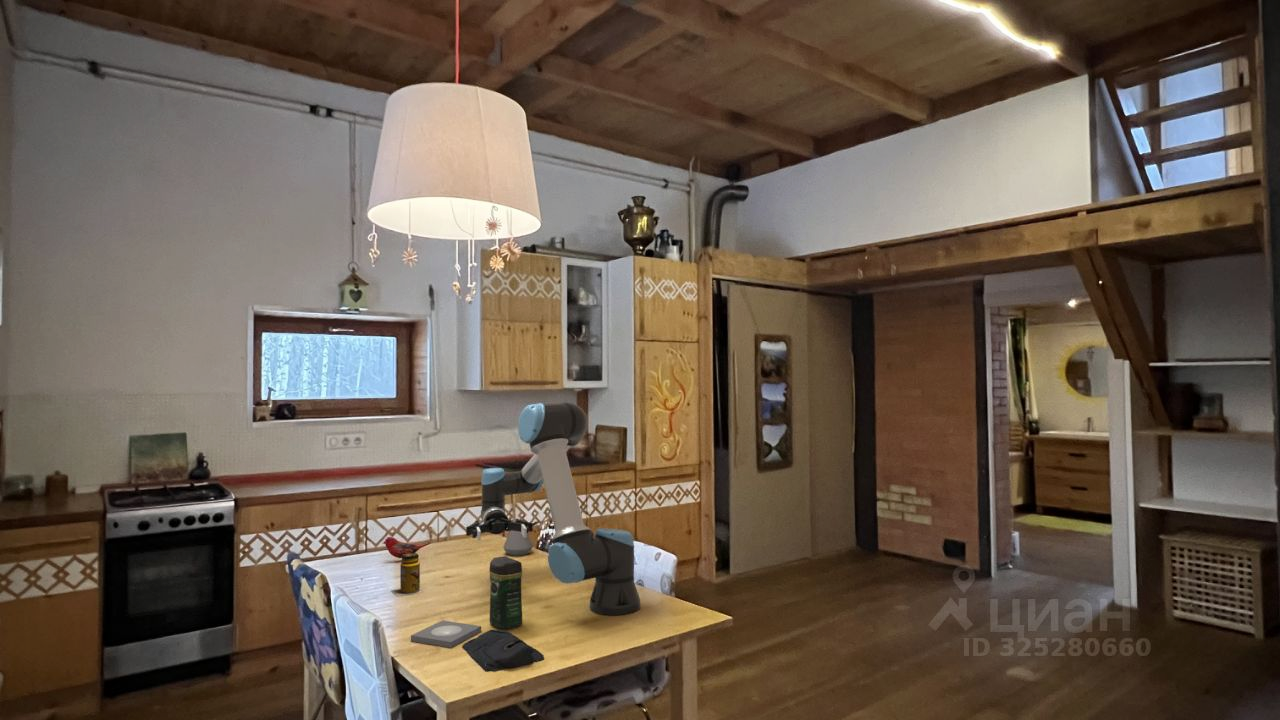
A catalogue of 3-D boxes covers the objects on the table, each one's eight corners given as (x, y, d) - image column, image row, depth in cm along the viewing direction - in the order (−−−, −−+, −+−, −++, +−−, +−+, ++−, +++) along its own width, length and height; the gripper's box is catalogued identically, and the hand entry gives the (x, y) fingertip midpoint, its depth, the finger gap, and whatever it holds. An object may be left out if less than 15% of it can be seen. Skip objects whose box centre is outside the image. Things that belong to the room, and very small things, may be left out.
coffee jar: (526, 626, 204) (526, 559, 204) (500, 632, 199) (500, 563, 200) (510, 617, 212) (510, 552, 212) (485, 623, 207) (485, 556, 207)
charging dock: (481, 631, 200) (481, 626, 200) (451, 647, 188) (451, 641, 188) (442, 625, 205) (442, 620, 205) (410, 641, 193) (410, 635, 193)
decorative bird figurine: (382, 563, 275) (382, 536, 275) (430, 558, 282) (430, 532, 283) (382, 565, 272) (382, 538, 273) (431, 559, 280) (431, 533, 280)
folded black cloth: (513, 636, 197) (513, 618, 197) (547, 663, 179) (547, 643, 179) (457, 647, 189) (457, 629, 189) (487, 677, 171) (487, 656, 171)
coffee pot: (498, 553, 289) (497, 515, 290) (523, 548, 297) (523, 511, 297) (526, 563, 273) (526, 523, 273) (552, 558, 280) (552, 519, 281)
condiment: (423, 592, 237) (423, 555, 238) (397, 596, 233) (397, 558, 233) (416, 587, 244) (416, 550, 244) (390, 591, 239) (390, 554, 239)
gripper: (533, 529, 242) (544, 544, 222) (456, 534, 235) (459, 550, 215) (533, 507, 243) (544, 519, 222) (456, 511, 235) (459, 524, 215)
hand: (502, 534), depth 219 cm, fingers open, 13 cm apart
